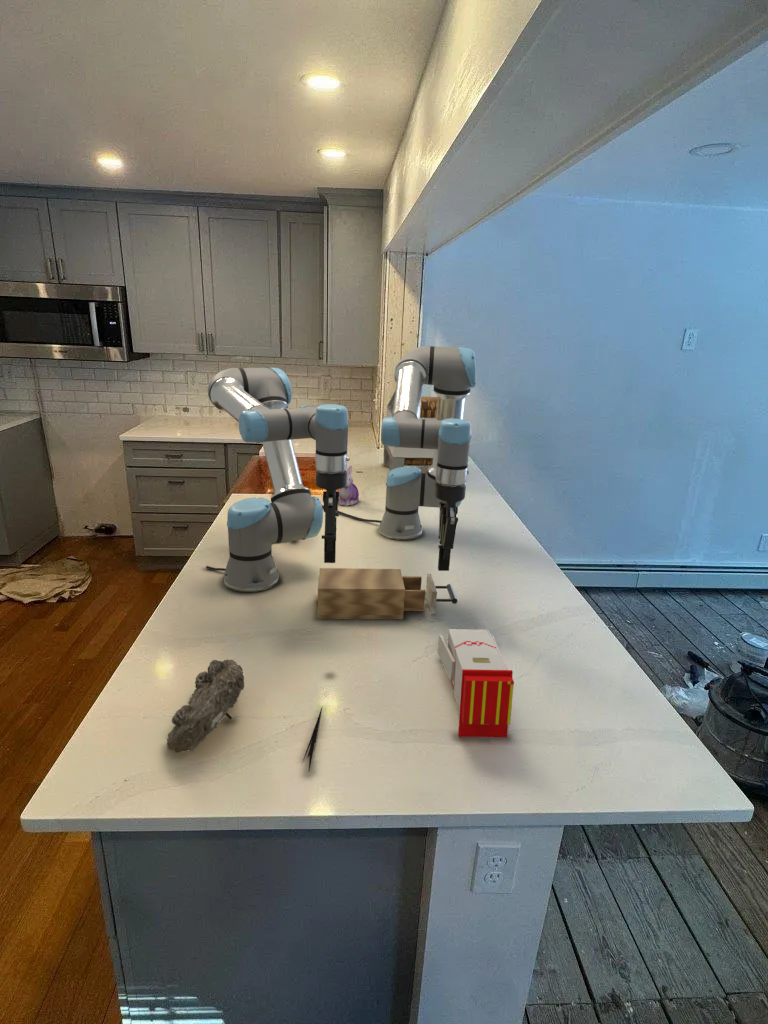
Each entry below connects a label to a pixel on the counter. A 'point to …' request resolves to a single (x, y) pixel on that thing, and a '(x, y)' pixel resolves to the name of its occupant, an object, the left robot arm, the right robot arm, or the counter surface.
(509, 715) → the toy
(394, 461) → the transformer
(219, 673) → the fossil
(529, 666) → the counter surface
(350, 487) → the figurine
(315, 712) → the counter surface
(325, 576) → the cabinet
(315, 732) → the feather
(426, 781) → the counter surface
